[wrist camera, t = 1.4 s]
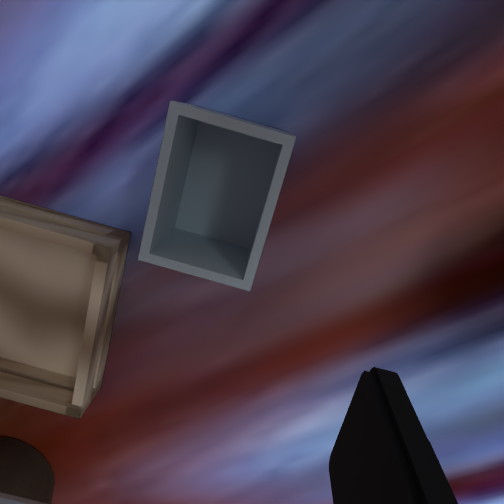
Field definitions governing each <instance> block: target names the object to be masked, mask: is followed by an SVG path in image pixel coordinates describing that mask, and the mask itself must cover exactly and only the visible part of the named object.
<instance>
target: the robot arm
mask: <svg viewBox="0 0 504 504" xmlns="http://www.w3.org/2000/svg"><path fill="white" fill-rule="evenodd" d="M329 474H330V481H331V489H332V496H333V503H334V504H458V502H457V500H456V498H455V496H454V494H453V492H452V489H451V487H450V485H449V483H448V481H447V479H446V476H445V474H444V472H443V470H442V468H441V465H440V463H439V461H438V459H437V457H436V455H435V452H434V450H433V448H432V446H431V444H430V442H429V440H428V439H427V437H426V435H425V432H424V430H423V428H422V426H421V424H420V421H419V419H418V417H417V415H416V413H415V410H414V408H413V406H412V404H411V402H410V400H409V397H408V395H407V393H406V391H405V389H404V386H403V384H402V382H401V380H400V378H399V375H398V374H397V373H395V372H391V371H387V370H383V369H379V368H376V367H373V368H372V369H371V370H370V372H368V371H364V372H363V373H362V375H361V377H360V380H359V382H358V385H357V388H356V390H355V393H354V395H353V398H352V401H351V403H350V406H349V408H348V411H347V414H346V416H345V419H344V421H343V424H342V427H341V429H340V432H339V434H338V437H337V440H336V442H335V445H334V447H333V450H332V453H331V456H330V461H329ZM0 504H46V503H42V502H38V501H34V500H30V499H26V498H22V497H18V496H14V495H9V494H5V493H1V492H0Z"/></svg>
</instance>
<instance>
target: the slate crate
mask: <svg viewBox="0 0 504 504" xmlns="http://www.w3.org/2000/svg"><path fill="white" fill-rule="evenodd" d="M295 140H296V136H295V135H293V134H292V133H289V132H286V131H282V130H279V129H275V128H272V127H268V126H265V125H262V124H258V123H255V122H251V121H248V120H244V119H241V118H238V117H234V116H231V115H227V114H224V113H220V112H217V111H214V110H210V109H207V108H203V107H200V106H196V105H192V104H186V103H181V102H176V101H170V104H169V109H168V114H167V119H166V124H165V129H164V133H163V138H162V143H161V148H160V153H159V158H158V163H157V168H156V173H155V178H154V183H153V188H152V193H151V198H150V202H149V207H148V212H147V217H146V222H145V227H144V232H143V237H142V242H141V247H140V252H139V257H138V260H140V261H144V262H147V263H151V264H154V265H158V266H161V267H165V268H169V269H172V270H176V271H179V272H183V273H186V274H190V275H193V276H197V277H200V278H204V279H208V280H211V281H215V282H218V283H222V284H225V285H229V286H232V287H236V288H239V289H243V290H247V291H250V290H251V287H252V283H253V280H254V277H255V273H256V270H257V267H258V263H259V260H260V257H261V253H262V250H263V247H264V243H265V240H266V237H267V233H268V230H269V227H270V223H271V220H272V217H273V213H274V210H275V207H276V203H277V200H278V197H279V193H280V190H281V187H282V183H283V180H284V177H285V173H286V170H287V167H288V163H289V160H290V157H291V153H292V150H293V147H294V143H295Z"/></svg>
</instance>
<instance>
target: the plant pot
mask: <svg viewBox="0 0 504 504" xmlns="http://www.w3.org/2000/svg"><path fill="white" fill-rule="evenodd" d="M53 489H54V475H53V471H52V469H51V467H50V465H49V463H48V462H47V460H46V459H45V458H44V457H43V456H42V454H41V453H39V452H38V451H37V450H36V449H35V448H33V447H32V446H30V445H29V444H27V443H24V442H22V441H20V440H17V439H13V438H8V437H0V492H1V493H5V494H9V495H14V496H18V497H22V498H26V499H30V500H34V501H38V502H42V503H46V504H51V501H52V495H53Z"/></svg>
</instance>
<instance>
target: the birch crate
mask: <svg viewBox="0 0 504 504" xmlns="http://www.w3.org/2000/svg"><path fill="white" fill-rule="evenodd" d="M130 235H131V232H128V231H124V230H121V229H117V228H114V227H110V226H106V225H103V224H99V223H96V222H92V221H89V220H85V219H82V218H78V217H75V216H71V215H68V214H64V213H61V212H57V211H54V210H50V209H46V208H43V207H39V206H36V205H32V204H29V203H25V202H22V201H18V200H15V199H11V198H8V197H4V196H1V195H0V397H1V398H5V399H8V400H12V401H16V402H20V403H23V404H27V405H31V406H34V407H38V408H42V409H45V410H49V411H53V412H56V413H60V414H64V415H67V416H71V417H75V418H78V419H80V418H81V416H82V415H83V413H84V412H85V410H86V409H87V407H88V406H89V404H90V403H91V402H92V400H93V399H94V397H95V396H96V394H97V393H98V391H99V390H100V388H101V385H102V380H103V375H104V370H105V365H106V359H107V354H108V349H109V344H110V339H111V334H112V328H113V323H114V318H115V313H116V308H117V303H118V297H119V292H120V287H121V282H122V277H123V272H124V266H125V261H126V256H127V251H128V246H129V240H130Z"/></svg>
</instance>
